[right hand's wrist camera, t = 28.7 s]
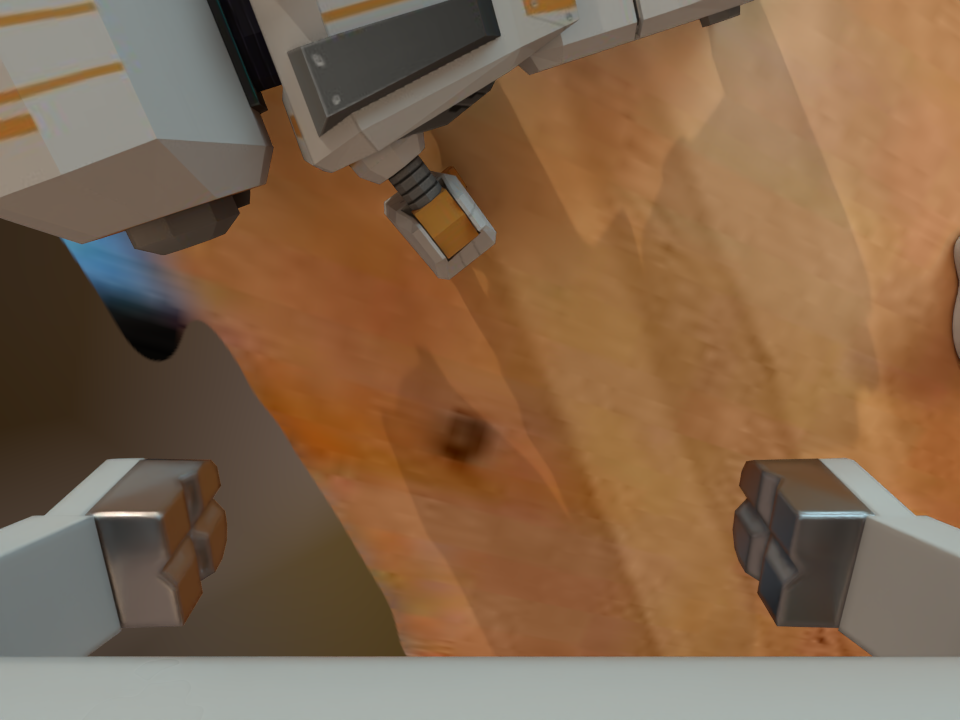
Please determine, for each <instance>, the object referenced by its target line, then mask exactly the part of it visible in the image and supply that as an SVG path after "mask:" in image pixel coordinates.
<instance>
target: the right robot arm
mask: <svg viewBox="0 0 960 720" xmlns="http://www.w3.org/2000/svg"><path fill="white" fill-rule="evenodd" d="M954 260H955V266H956V270H957V274H958V278H959V288H958V294H957V299H956V303H955V308H954V314H953V340H954V345H955V348H956V352H957V354H958V357H959V359H960V237H959V238H958V239H957V241H956V243H955V247H954ZM220 486H221V484H220V479H219V474H218V469H217V466H216V465H215V464H214V463H213V462H212V461H211V460H191V459H144V458H125V459H109V460H106V461H105V462H104V463H103V464H102V465H100V466H99V467H98V468H97V469H96V470H95V471H94V472H93V473H92V474H90V475H89V476H88V477H87V478H86V479H85V480H84V481H83V482H81V483H80V484H79V485H78V486H77V487H76V488H75V489H74V490H73V491H71V492H70V493H69V494H68V495H67V496H66V497H65V498H64V499H62V500H61V501H60V502H59V503H58V504H57V505H56V506H55V507H54V508H52V509H51V510H50V511H49V512H48V513H47V514H46V515H45V516H31V517H29V518H26V519H24V520H22V521H19V522H17V523H14V524H12V525H9V526H7V527H4V528H2V529H0V720H960V529H958V528H956V527H953V526H951V525H948V524H946V523H943V522H941V521H938V520H936V519H934V518H931V517H929V516H916V515H914V514H913V513H912V512H911V511H910V510H909V509H908V508H907V507H905V506H904V505H903V504H902V503H901V502H900V501H899V500H898V499H897V498H895V497H894V496H893V495H892V494H891V493H890V492H889V491H888V490H887V489H885V488H884V487H883V486H882V485H881V484H880V483H879V482H878V481H876V480H875V479H874V478H873V477H872V476H871V475H870V474H869V473H868V472H866V471H865V470H864V469H863V468H862V467H861V466H860V465H859V464H858V463H856V462H855V461H854V460H851V459H847V458H830V459H780V460H752V461H746V463H745V465H744V467H743V470H742V472H741V478H740V484H739V486H740V488H741V489H742V491H743V493H744V494H745V496H746V497H747V499H746V500H745V501H744V502H743V503H742V504H741V505H740V506H739V507H738V508H737V509H736V510H735V515H734V523H733V538H734V548H735V551H736V554H737V557H738V560H739V562H740V564H741V566H742V568H743V569H744V571H745V572H746V573H747V574H749V575H750V576H752V577H754V578H755V579H757V580H758V581H759V586H758V592H757V593H758V595H759V597H760V598H761V600H762V602H763V603H764V605H765V607H766V608H767V610H768V612H769V613H770V615H771V617H772V618H773V620H774V622H775V623H776V625H777V626H790V627H827V628H839V630H838V631H840V632H841V633H842V634H844V635H845V636H846V637H848V638H849V639H850V640H852V641H853V642H855V643H856V644H857V645H859V646H860V647H861V648H863V649H864V650H865V651H867V652H868V653H869V654H871V655H872V656H873V657H87V656H88V655H90V654H91V653H92V652H94V651H95V650H96V649H98V648H99V647H100V646H102V645H103V644H104V643H106V642H107V641H108V640H110V639H111V638H112V637H114V636H115V635H116V634H118V633H119V632H121V628H133V627H167V626H183V625H184V623H185V622H186V620H187V618H188V617H189V615H190V613H191V612H192V610H193V608H194V607H195V605H196V603H197V602H198V600H199V598H200V597H201V595H202V593H203V592H202V586H201V580H203V579H205V578H206V577H208V576H210V575H211V574H213V573H214V572H215V571H216V569H217V567H218V566H219V564H220V562H221V560H222V558H223V554H224V550H225V546H226V541H227V521H226V515H225V510H224V509H223V508H222V507H221V506H220V505H219V504H218V503H217V502H216V501H215V500H214V499H213V497H214V496H215V494H216V492H217V491H218V489H219V488H220Z"/></svg>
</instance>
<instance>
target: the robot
mask: <svg viewBox="0 0 960 720" xmlns="http://www.w3.org/2000/svg"><path fill="white" fill-rule="evenodd" d="M751 1H754V0H0V218H2V219H6V220H9V221H12V222H15V223H18V224H21V225H24V226H27V227H30V228H34V229H37V230H40V231H43V232H46V233H49V234H52V235H55V236H58V237H61V238H64V239H68V240H71V241H74V242H77V243H80V244H84V243H87V242H91V241H94V240H97V239H101V238H104V237H107V236H110V235H113V234H117V233H120V232H123V231H126V233H127V235H128V237H129V239H130V241H131V243H132V245H133V247H134V249H138V250H143V251H147V252H152V253H156V254H160V255H166V254H169V253H173V252H176V251H179V250H182V249H185V248H188V247H191V246H194V245H197V244H199V243H202V242H205V241H208V240H211V239H213V238H216V237H218V236H221V235H223V234H225V233H226V232H227V230H228V229H229V228H230V226H231V225H232V224H233V222H234V221H235V219H236V218H237V217H238V215H239V214H240V213H239V210H238V208H239V207H242V206H245V205H248V204H250V189H252V188H255V187H258V186H261V185H264V184H266V181H267V176H268V172H269V167H270V162H271V157H272V152H273V148H274V147H273V145H272V143H271V140H270V138H269V135H268V133H267V130H266V128H265V125H264V123H263V120H262V118H261V115H260V114H261V113H263V112H265V111H267V110H268V109H267V106H266V104H265V101H264V99H263V96H262V94H261V91H263V90H266V89H269V88H272V87H275V86H279V85H282V86H283V97H282V100H283V103H284V106H285V109H286V112H287V114H288V117H289V120H290V123H291V125H292V128H293V131H294V134H295V136H296V139H297V142H298V145H299V147H300V150H301V153H302V156H303V158H304V160H305V161H307V162H308V163H310V164H312V165H313V166H315V167H317V168H319V169H321V170H322V171H326V172H330V173H332V172H335V171H337V170H339V169H341V168H343V167H345V166H348V165H349V166H350V167H351V168H352V169H353V170H354V171H355V172H356V174H357V175H358V176H359V177H360V178H363V179H366V180H369V181H371V182H374V183H377V184H381V183H382V182H384V181H386V180H387V179H389V181H390V182H391V183H392V185H393V186H394V187H395V188H396V190H397V191H398V192H397V193H396V194H394V195H393V196H392V197H390V198H389V199H387V200H386V201H385V202H384V214H385V215H386V216H387V217H388V218H389V220H390V221H391V222H392V223H393V224H394V226H395V227H396V228H397V229H398V230H399V231H400V233H401V234H402V235H403V236H404V237H405V239H406V240H407V241H408V242H409V243H410V244H411V246H412V247H413V248H414V249H415V250H416V252H417V253H418V254H419V255H420V256H421V257H422V259H423V260H424V261H425V262H426V263H427V265H428V266H429V267H430V268H431V269H432V271H433V272H434V273H435V274H436V276H437V277H438V278H441V279H448V280H449V279H451V278H452V277H453V276H455V275H456V274H457V273H458V272H460V271H461V270H462V269H463V268H465V267H466V266H467V265H468V264H470V263H471V262H472V261H474V260H475V259H476V258H477V257H479V256H480V255H481V254H482V253H484V252H485V251H486V250H488V249H489V248H490V247H491V246H493V245H494V244H495V241H496V231H495V230H494V228H493V227H492V225H491V224H490V223H489V221H488V220H487V219H486V217H485V216H484V214H483V213H482V212H481V210H480V209H479V207H478V206H477V205H476V203H475V202H474V201H473V199H472V198H471V196H470V195H469V194H468V192H467V191H466V190H465V188H466V187H467V186H466V185H465V183H464V182H463V180H462V179H461V177H460V176H459V174H458V173H457V171H456V170H455V168H454V167H449V168H447V169H446V170H444V171H443V172H441V173H439V172H434V171H429V169H428V168H427V167H426V165H425V164H424V162H423V161H422V160H421V158H420V157H419V156H418V154H420V153H421V151H422V150H423V149H424V148H425V144H424V134H423V132H425V131H428V130H432V129H435V128H438V127H441V126H445V125H447V124H449V123H450V122H451V121H452V120H454V119H455V118H456V117H457V116H459V115H460V114H461V113H462V112H464V111H465V110H466V109H467V108H469V107H470V106H471V105H472V104H474V103H475V102H476V101H477V100H479V99H480V98H481V97H482V96H484V95H485V94H486V93H487V92H489V91H490V90H491V88H492V86H493V84H494V82H495V80H496V79H498V78H499V77H501V76H503V75H504V74H506V73H508V72H509V71H511V70H512V69H514V68H515V67H516V66H517V65H519V66H520V67H521V68H522V69H523V70H524V71H525V72H527V73H528V74H529V75H531V74H534V73H537V72H540V71H543V70H546V69H549V68H552V67H555V66H558V65H561V64H564V63H567V62H570V61H573V60H577V59H580V58H583V57H586V56H589V55H592V54H595V53H598V52H601V51H604V50H607V49H610V48H613V47H616V46H619V45H622V44H625V43H628V42H631V41H634V40H637V39H640V38H643V37H646V36H649V35H652V34H655V33H658V32H661V31H664V30H667V29H670V28H673V27H676V26H679V25H682V24H685V23H689V22H692V21H695V20H698V19H700V21H701V24H702V27H705V26H709V25H712V24H715V23H718V22H721V21H724V20H727V19H730V18H732V17H735V16H738V15H740V5H742V4H745V3H748V2H751Z"/></svg>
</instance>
